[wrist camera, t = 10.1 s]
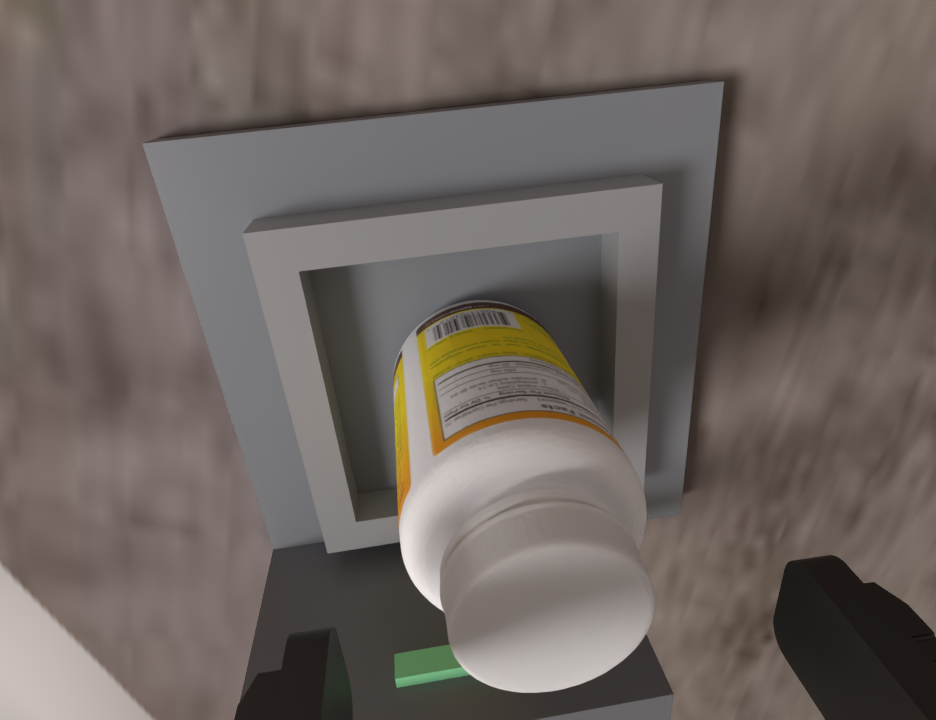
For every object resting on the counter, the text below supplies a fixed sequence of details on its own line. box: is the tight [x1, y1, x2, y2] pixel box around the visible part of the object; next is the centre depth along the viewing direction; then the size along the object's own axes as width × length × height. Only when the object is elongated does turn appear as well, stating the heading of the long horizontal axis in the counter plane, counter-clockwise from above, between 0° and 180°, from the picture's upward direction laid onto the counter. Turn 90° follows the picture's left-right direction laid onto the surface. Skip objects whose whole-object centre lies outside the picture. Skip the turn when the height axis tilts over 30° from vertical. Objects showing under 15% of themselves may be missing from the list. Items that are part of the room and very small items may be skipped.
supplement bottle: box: [393, 300, 655, 693], centre depth 16 cm, size 6×6×10 cm
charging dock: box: [142, 80, 724, 720], centre depth 17 cm, size 16×16×9 cm
